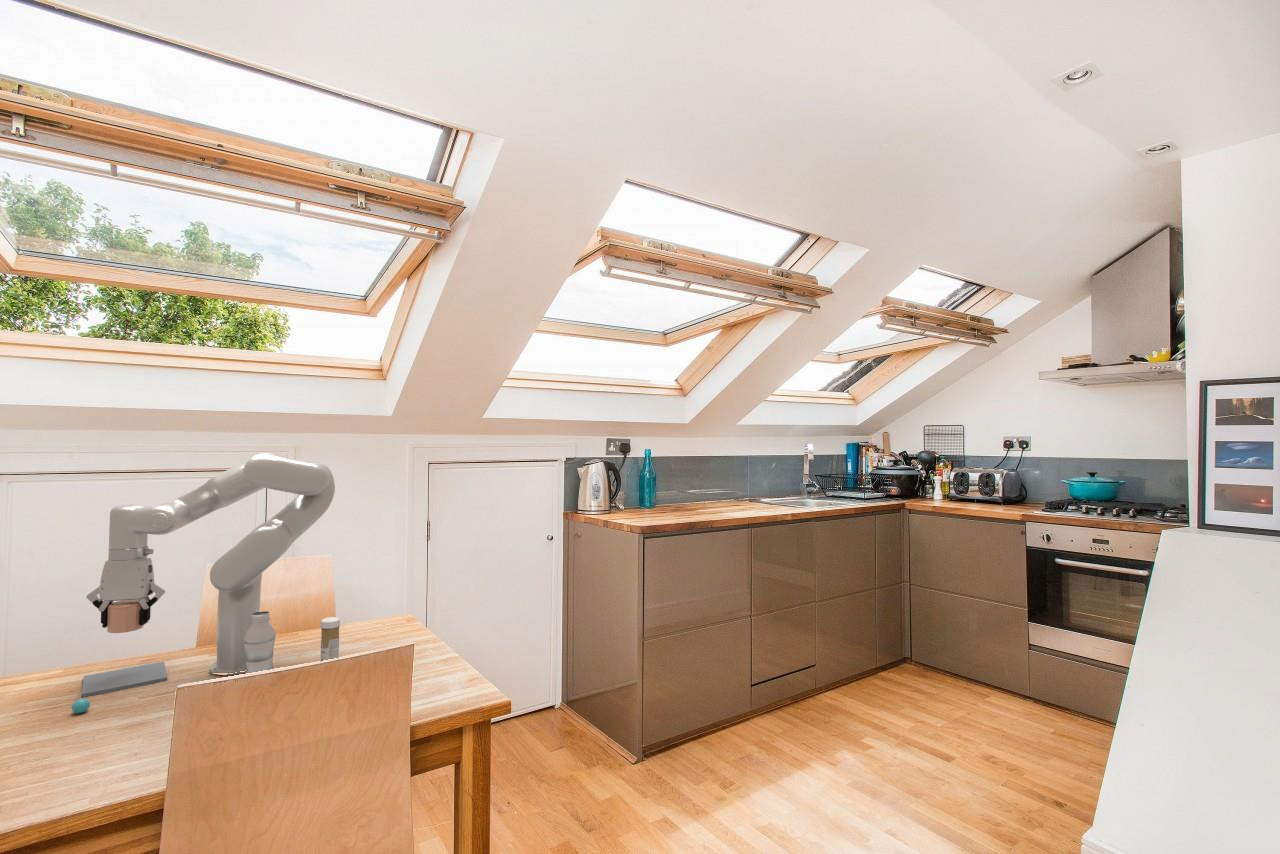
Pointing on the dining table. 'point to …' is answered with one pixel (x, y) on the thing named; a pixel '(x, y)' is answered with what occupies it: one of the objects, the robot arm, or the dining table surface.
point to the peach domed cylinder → (124, 616)
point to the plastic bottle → (259, 643)
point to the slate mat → (123, 678)
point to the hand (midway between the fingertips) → (125, 624)
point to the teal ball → (80, 706)
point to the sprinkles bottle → (330, 638)
